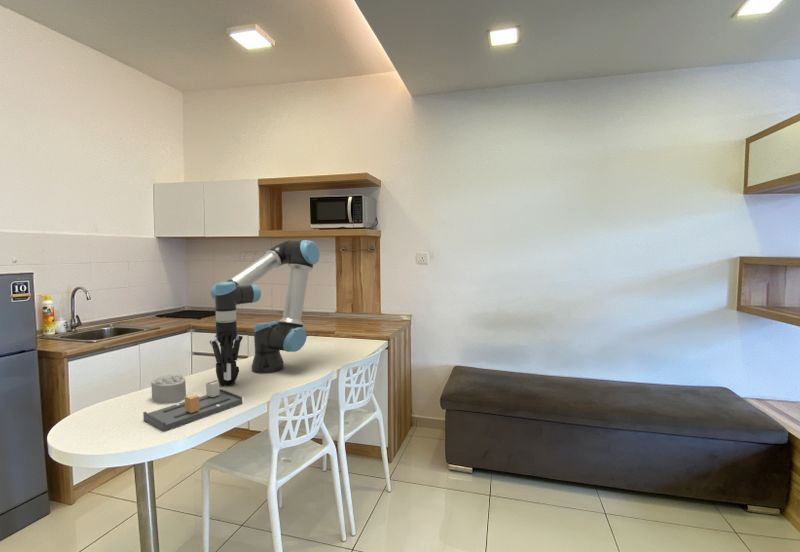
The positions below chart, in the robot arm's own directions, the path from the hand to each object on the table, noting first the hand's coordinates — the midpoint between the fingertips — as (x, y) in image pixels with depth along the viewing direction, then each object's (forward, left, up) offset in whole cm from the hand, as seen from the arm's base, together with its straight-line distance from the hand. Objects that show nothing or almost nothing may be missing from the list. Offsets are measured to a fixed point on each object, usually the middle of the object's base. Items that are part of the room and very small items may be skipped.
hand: (227, 379), depth 157 cm
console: (+15, +4, -7) cm, 17 cm away
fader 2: (+6, 0, -5) cm, 8 cm away
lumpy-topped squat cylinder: (+14, -17, -7) cm, 23 cm away
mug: (-8, -12, -7) cm, 16 cm away
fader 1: (+18, +8, -5) cm, 20 cm away
